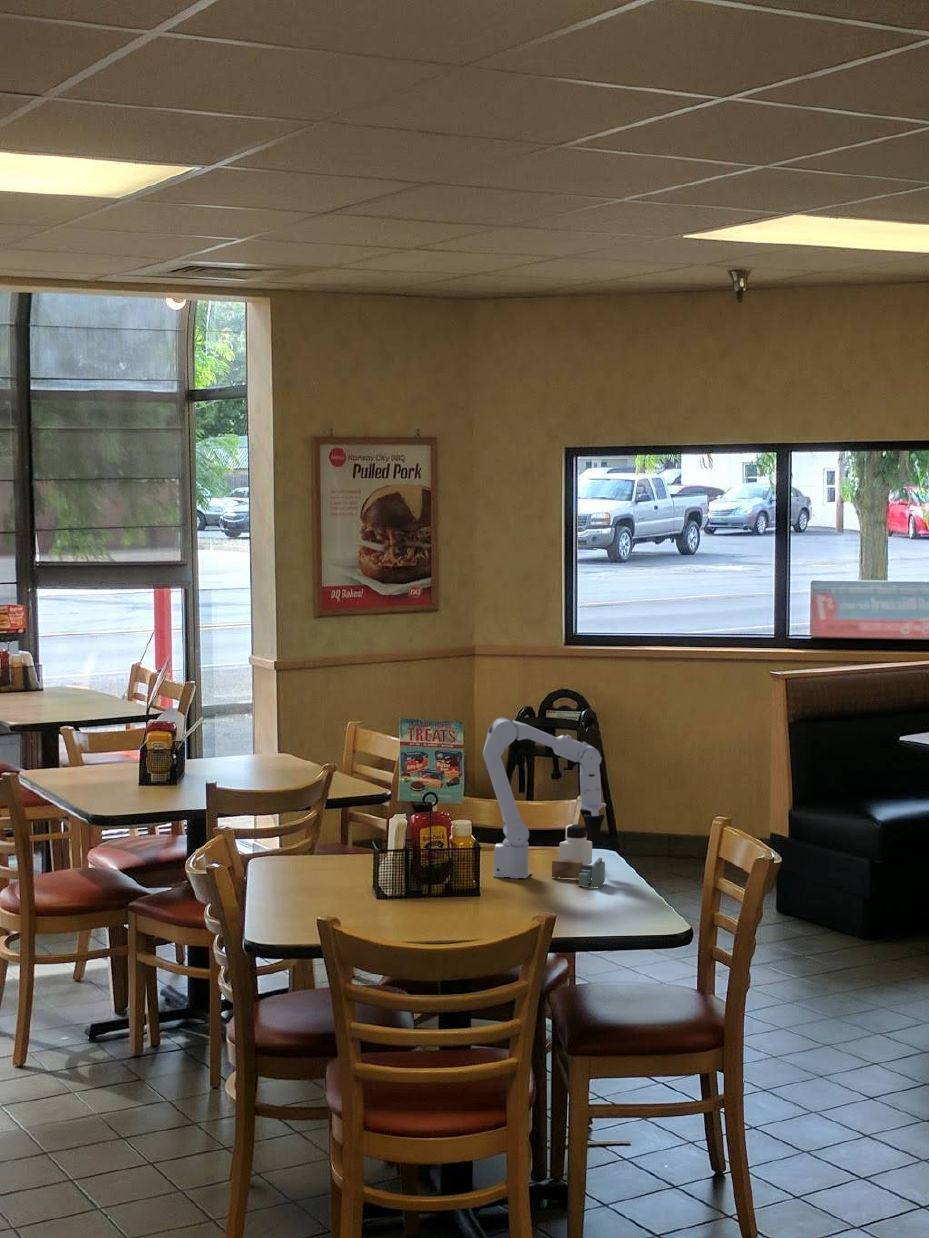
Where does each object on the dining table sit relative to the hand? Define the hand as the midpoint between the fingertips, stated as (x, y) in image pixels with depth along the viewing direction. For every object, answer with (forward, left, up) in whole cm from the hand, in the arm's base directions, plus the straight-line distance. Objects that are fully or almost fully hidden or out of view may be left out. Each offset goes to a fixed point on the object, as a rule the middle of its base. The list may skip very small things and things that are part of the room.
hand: (593, 836), depth 408 cm
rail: (-4, -7, -11) cm, 13 cm away
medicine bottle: (-6, +9, -11) cm, 16 cm away
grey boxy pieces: (+2, -13, -11) cm, 17 cm away
